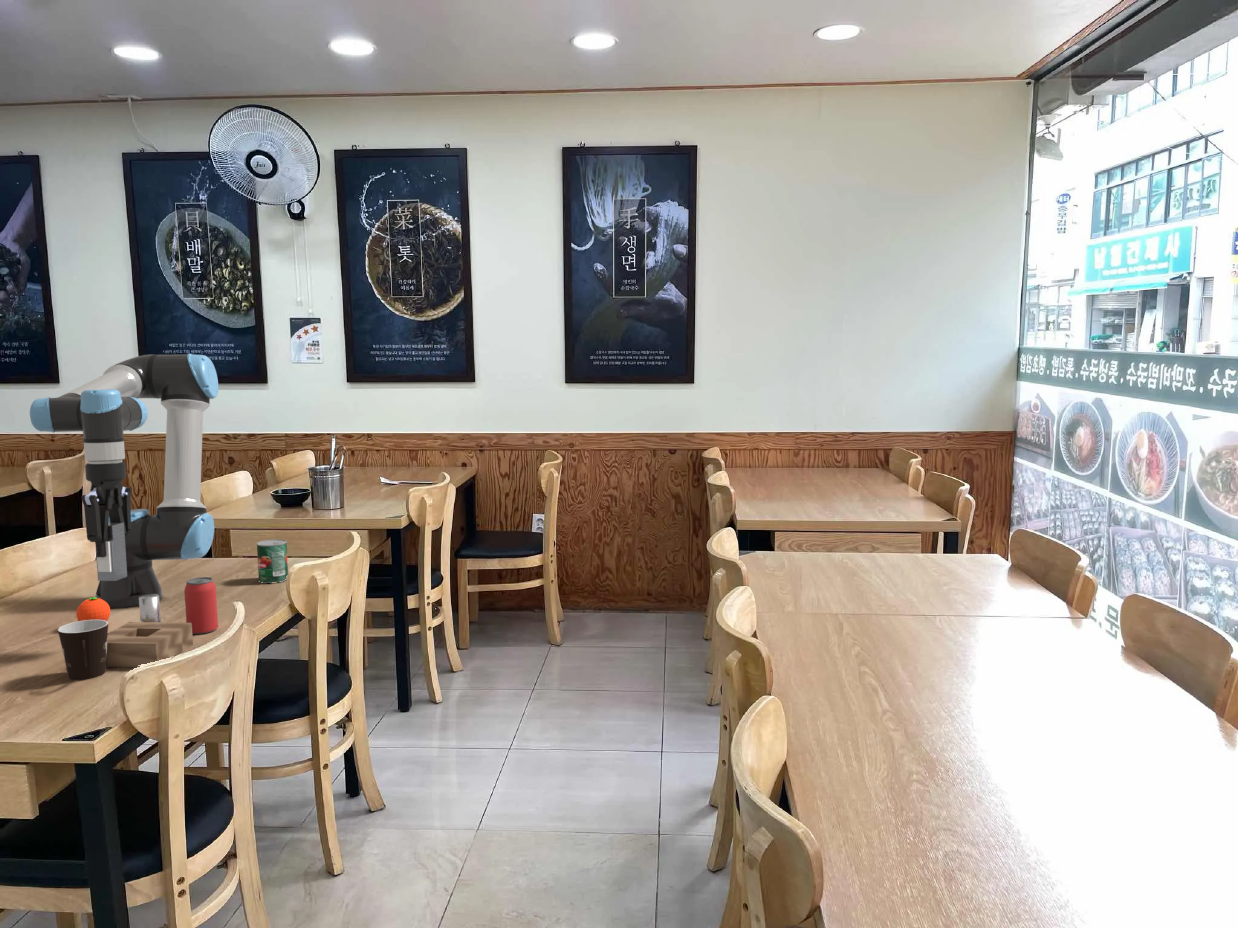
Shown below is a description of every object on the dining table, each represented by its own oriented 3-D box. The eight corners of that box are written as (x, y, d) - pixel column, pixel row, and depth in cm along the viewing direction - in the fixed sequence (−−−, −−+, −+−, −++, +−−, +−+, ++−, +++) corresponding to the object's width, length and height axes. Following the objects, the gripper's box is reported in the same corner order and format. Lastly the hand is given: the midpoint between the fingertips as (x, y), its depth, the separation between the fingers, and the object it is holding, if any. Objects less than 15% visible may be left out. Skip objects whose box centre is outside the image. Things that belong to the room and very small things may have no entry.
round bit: (148, 636, 202) (145, 593, 201) (165, 637, 202) (162, 594, 201) (138, 642, 198) (134, 598, 197) (155, 642, 198) (152, 599, 197)
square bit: (109, 576, 196) (106, 522, 195) (127, 576, 195) (123, 522, 194) (97, 580, 192) (94, 525, 191) (115, 580, 192) (112, 525, 190)
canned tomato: (252, 582, 249) (250, 544, 247) (271, 576, 256) (269, 538, 255) (276, 584, 246) (274, 545, 245) (294, 578, 254) (292, 540, 253)
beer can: (198, 636, 202) (194, 585, 201) (181, 631, 206) (177, 581, 204) (224, 629, 208) (221, 578, 206) (207, 624, 211) (204, 574, 210)
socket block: (131, 643, 197) (129, 622, 197) (193, 644, 197) (191, 622, 196) (91, 666, 183) (89, 642, 183) (157, 667, 183) (155, 643, 182)
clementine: (80, 623, 212) (78, 594, 211) (113, 620, 215) (111, 591, 214) (75, 633, 205) (72, 603, 204) (109, 629, 208) (107, 599, 207)
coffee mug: (75, 667, 183) (71, 620, 181) (119, 666, 183) (116, 619, 182) (44, 688, 171) (40, 638, 170) (91, 687, 172) (87, 637, 171)
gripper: (113, 457, 200) (120, 560, 202) (60, 465, 183) (68, 577, 185) (145, 457, 199) (152, 560, 202) (95, 466, 182) (103, 578, 185)
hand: (112, 568), depth 193 cm, fingers closed on square bit, 4 cm apart
